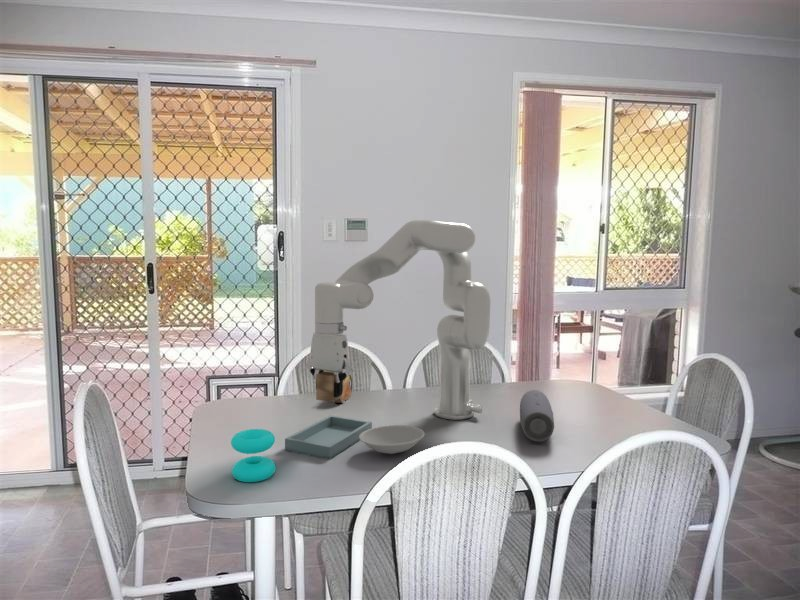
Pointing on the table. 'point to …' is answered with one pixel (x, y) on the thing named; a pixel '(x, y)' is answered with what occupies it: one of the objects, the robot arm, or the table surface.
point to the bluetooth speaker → (536, 416)
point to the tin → (346, 389)
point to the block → (325, 386)
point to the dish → (391, 438)
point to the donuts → (254, 465)
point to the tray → (327, 437)
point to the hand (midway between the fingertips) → (329, 393)
